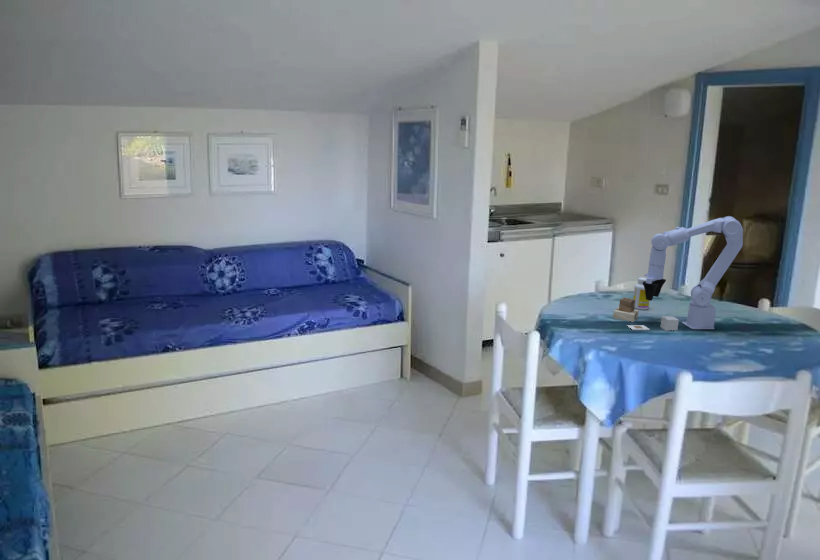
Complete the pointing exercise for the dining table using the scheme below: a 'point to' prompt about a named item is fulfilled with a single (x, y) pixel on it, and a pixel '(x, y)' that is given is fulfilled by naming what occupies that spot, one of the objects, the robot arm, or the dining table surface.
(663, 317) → the grey block
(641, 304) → the supplement bottle
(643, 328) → the card
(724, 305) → the dining table surface
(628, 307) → the walnut block
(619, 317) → the birch base block
